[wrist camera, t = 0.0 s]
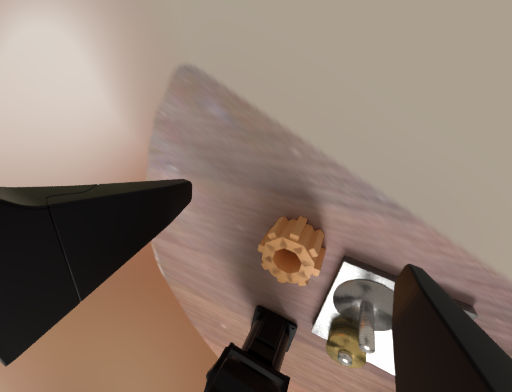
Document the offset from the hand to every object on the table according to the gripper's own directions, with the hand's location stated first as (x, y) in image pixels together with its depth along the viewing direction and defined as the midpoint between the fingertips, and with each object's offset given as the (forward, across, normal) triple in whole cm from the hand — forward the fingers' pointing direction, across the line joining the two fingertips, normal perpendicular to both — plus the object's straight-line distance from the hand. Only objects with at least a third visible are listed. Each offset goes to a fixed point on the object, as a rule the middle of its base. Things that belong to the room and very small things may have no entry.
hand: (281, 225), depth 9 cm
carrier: (+15, -11, +17) cm, 25 cm away
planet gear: (+15, 0, +11) cm, 19 cm away
